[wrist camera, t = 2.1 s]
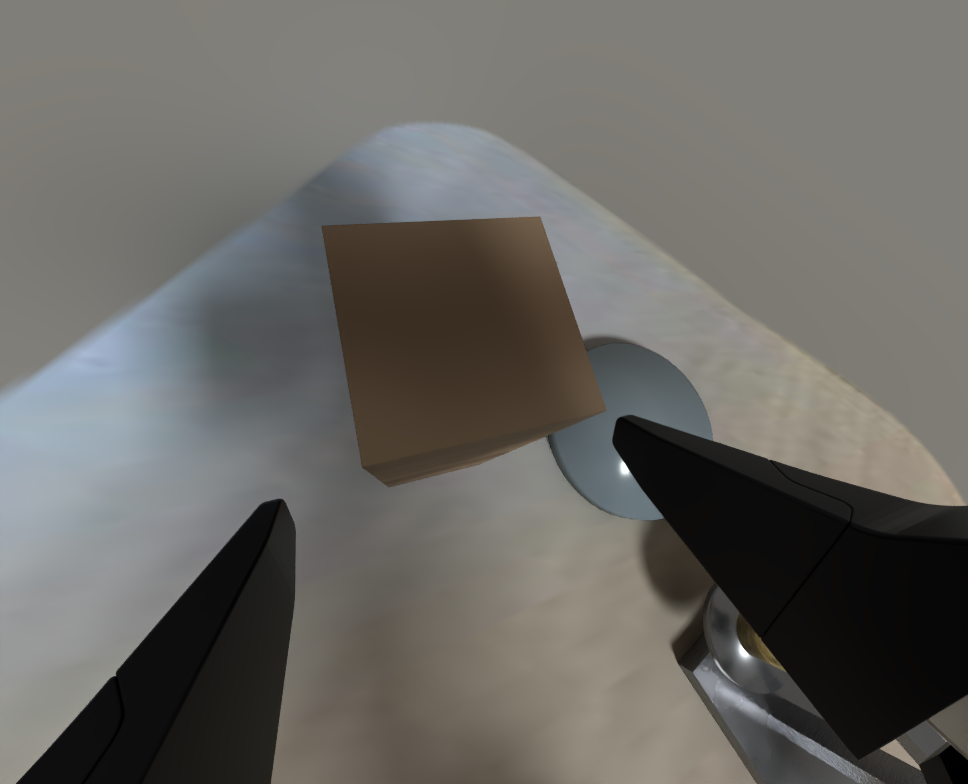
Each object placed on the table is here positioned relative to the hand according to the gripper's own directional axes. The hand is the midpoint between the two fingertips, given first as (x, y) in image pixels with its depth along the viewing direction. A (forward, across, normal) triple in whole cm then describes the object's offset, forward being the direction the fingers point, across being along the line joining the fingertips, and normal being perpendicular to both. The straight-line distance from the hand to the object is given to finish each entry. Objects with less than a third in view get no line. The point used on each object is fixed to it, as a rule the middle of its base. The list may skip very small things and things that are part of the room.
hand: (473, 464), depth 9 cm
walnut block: (+9, 0, +5) cm, 11 cm away
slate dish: (+7, -12, +7) cm, 16 cm away
